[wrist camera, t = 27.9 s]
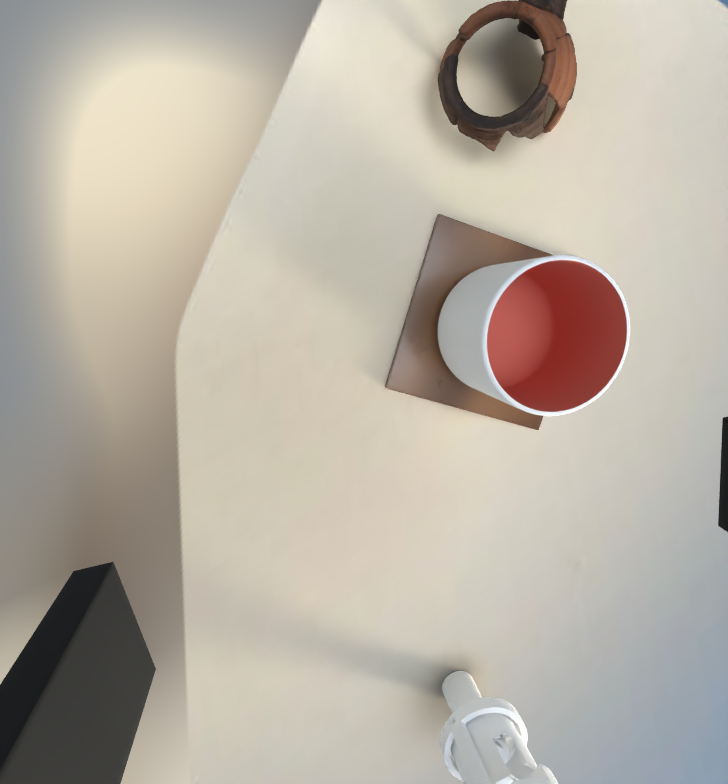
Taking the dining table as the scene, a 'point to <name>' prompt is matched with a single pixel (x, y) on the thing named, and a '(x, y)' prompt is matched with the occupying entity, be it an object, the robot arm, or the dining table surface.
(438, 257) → the coaster
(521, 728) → the white openwork cylinder
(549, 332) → the cup
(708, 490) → the dining table surface
